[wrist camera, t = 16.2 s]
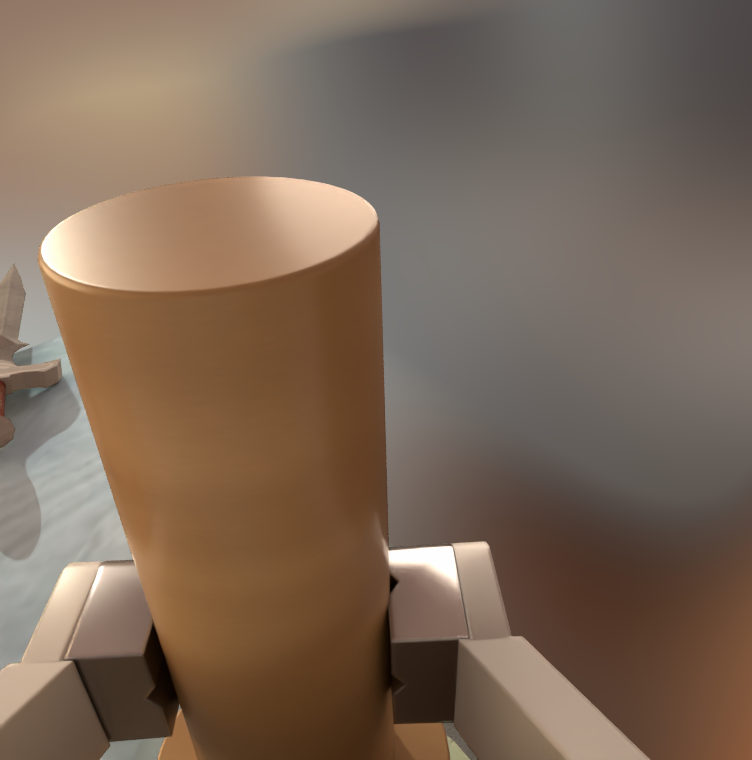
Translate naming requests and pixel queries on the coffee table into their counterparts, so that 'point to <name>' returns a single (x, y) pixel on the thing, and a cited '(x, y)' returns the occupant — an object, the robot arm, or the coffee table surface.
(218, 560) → the pestle
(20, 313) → the dagger
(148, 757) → the coffee table surface
